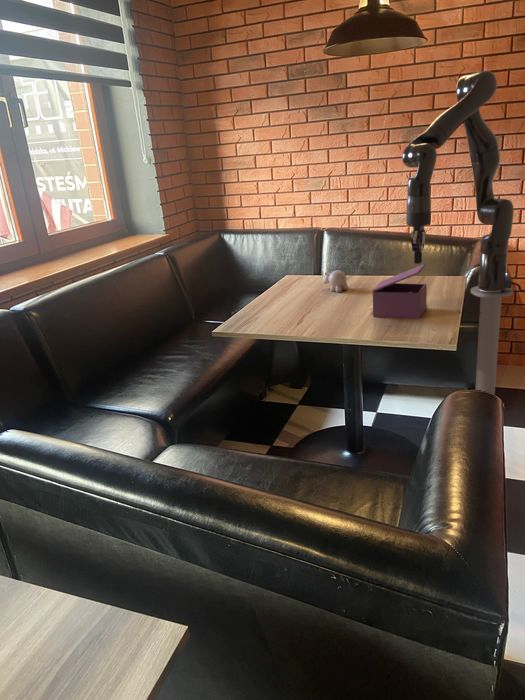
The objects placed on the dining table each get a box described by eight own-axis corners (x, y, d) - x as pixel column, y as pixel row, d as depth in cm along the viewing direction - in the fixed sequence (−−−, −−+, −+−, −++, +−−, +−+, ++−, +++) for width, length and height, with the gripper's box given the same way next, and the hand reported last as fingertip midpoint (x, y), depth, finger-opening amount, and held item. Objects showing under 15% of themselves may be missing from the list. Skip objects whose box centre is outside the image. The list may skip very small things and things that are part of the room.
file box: (426, 308, 188) (426, 283, 185) (419, 319, 178) (419, 293, 175) (382, 306, 195) (382, 282, 192) (373, 316, 185) (372, 292, 182)
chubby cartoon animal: (330, 286, 229) (329, 266, 226) (350, 289, 220) (349, 269, 217) (318, 289, 225) (316, 270, 222) (338, 293, 216) (337, 273, 213)
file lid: (425, 265, 183) (425, 263, 183) (418, 274, 173) (417, 272, 173) (382, 282, 192) (381, 281, 192) (372, 291, 182) (372, 290, 182)
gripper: (426, 212, 165) (425, 267, 171) (434, 206, 175) (433, 258, 182) (402, 213, 168) (402, 267, 174) (411, 207, 179) (410, 258, 185)
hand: (418, 262), depth 178 cm, fingers closed
